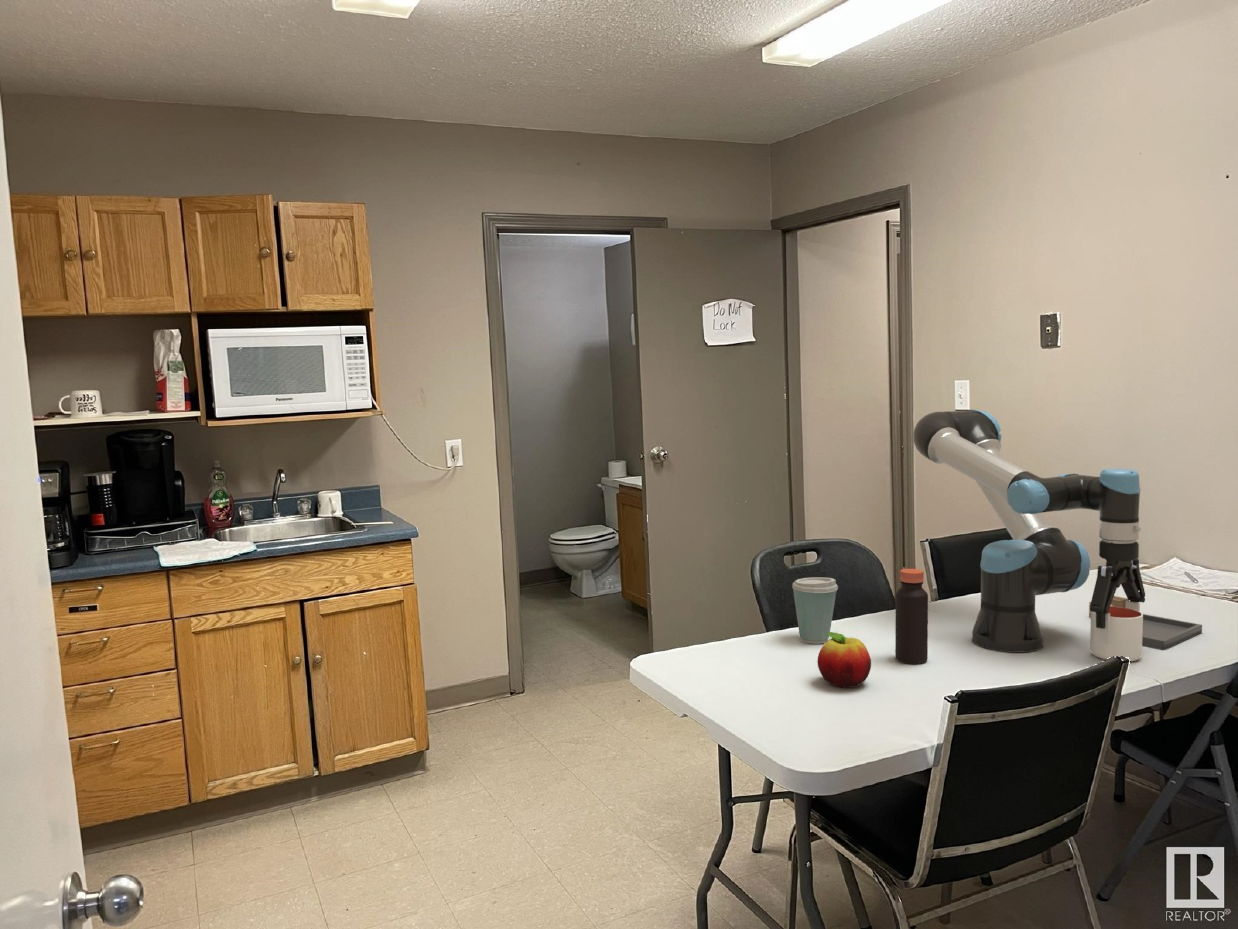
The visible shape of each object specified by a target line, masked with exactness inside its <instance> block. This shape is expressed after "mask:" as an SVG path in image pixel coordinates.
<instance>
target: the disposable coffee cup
mask: <svg viewBox="0 0 1238 929" xmlns="http://www.w3.org/2000/svg"><path fill="white" fill-rule="evenodd" d="M791 587H792V590H793V591H792V592H793V599H794V605H795V613H796V620H797V626H798V634H799V637H800V640H801V642H803V643H806V644H814V645H816V644H817V645H820V644H825V643H826V642H827V641H829V638H830V636H828V635H827V633H828V632H831V629H832V628H831V627H832V621H833V615H834V609H835V603H836V597H837V596H836V594H837V590H839V586H838V584H837V583H836V579H834V578H832V577H819V576H818V577H816V576H815V577H814V576H813V577H803V578H798V579H796V580H794V582H792V586H791Z"/></svg>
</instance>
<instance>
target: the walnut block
mask: <svg viewBox="0 0 1238 929" xmlns="http://www.w3.org/2000/svg"><path fill="white" fill-rule="evenodd" d="M1126 601H1130V600H1128V598H1127V597H1121V596H1117V595H1114V597H1113V600H1112V602H1111V605H1112V606H1113V607H1123V608H1125V607H1126Z"/></svg>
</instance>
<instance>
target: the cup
mask: <svg viewBox="0 0 1238 929" xmlns="http://www.w3.org/2000/svg"><path fill="white" fill-rule="evenodd" d="M1108 613H1110V644H1105V643H1100V642H1095V625H1096V612H1091V618H1090V632H1089V633H1090V638H1089V639H1090V640H1089V650H1090V652H1091V653H1092V655H1094V656H1095V657H1097V658H1098V659H1101V660H1105V659H1107V658H1109V657H1113V656H1123V657H1129V659H1130V660H1131V662H1135V661H1138V660H1140V658H1141V657H1142V654H1143V646H1142V633H1143V614H1144V613H1142V612H1141V611H1140V612H1139V611H1136V610H1133V609H1129V608H1123V607H1110V608H1109V610H1108ZM1105 661H1106V660H1105Z"/></svg>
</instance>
